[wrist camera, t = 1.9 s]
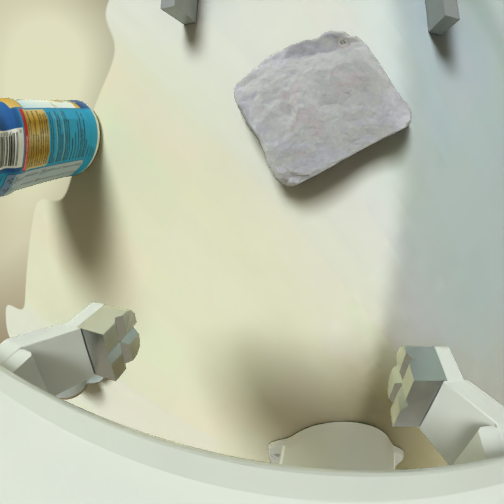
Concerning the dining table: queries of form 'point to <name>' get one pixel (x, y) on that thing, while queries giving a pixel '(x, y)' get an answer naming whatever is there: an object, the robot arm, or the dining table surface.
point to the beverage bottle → (44, 141)
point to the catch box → (437, 3)
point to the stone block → (319, 105)
